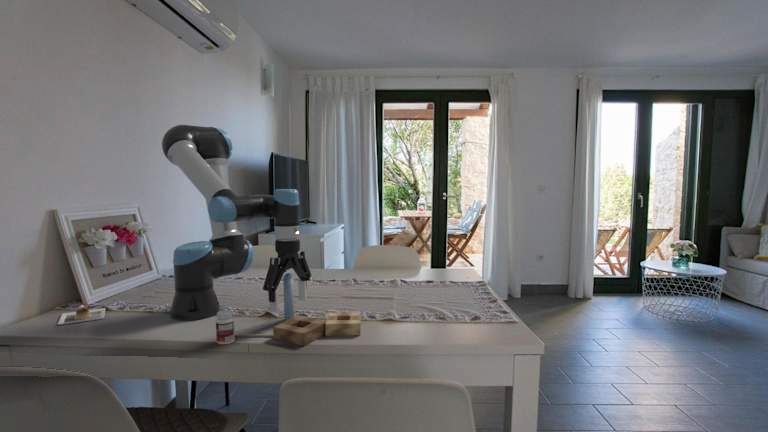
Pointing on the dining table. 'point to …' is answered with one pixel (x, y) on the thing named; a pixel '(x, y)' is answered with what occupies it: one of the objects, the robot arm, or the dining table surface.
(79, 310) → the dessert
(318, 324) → the square wooden ring
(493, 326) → the dining table surface
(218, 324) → the pill bottle
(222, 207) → the robot arm
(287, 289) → the blue-grey peg
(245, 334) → the thin wooden stick
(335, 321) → the light wood square frame
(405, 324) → the dining table surface
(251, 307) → the dining table surface
